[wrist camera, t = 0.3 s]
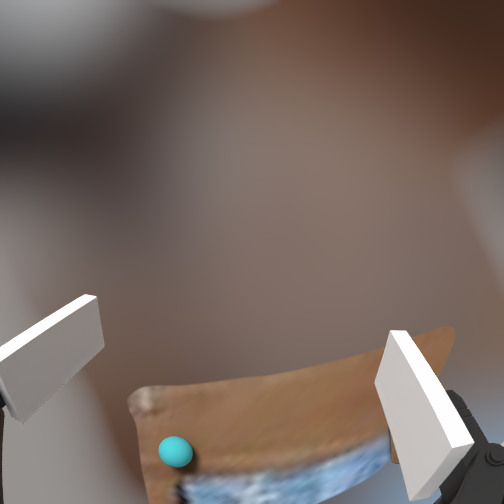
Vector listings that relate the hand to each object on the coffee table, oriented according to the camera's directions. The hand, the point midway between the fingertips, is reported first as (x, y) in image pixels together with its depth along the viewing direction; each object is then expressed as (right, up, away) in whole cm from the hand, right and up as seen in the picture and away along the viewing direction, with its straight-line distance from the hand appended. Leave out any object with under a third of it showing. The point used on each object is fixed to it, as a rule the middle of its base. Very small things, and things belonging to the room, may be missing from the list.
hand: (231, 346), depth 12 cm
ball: (-11, -28, +26) cm, 40 cm away
